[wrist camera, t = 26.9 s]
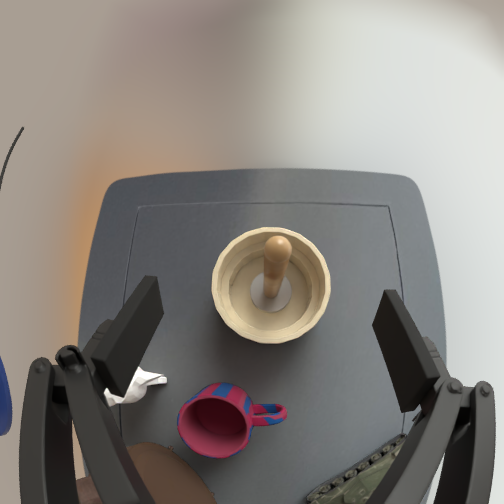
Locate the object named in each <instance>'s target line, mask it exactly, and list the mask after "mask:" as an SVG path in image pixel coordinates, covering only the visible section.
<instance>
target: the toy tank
mask: <svg viewBox="0 0 504 504" xmlns="http://www.w3.org/2000/svg"><path fill="white" fill-rule="evenodd" d="M406 438H407V435H406V434H404V433H401V434H400V435H398V436H396V437H395V438H393V439H392V440H390V441H388V442H387V443H385V444H384V445H382V446H381V447H380V448H378V449H377V450H376V451H374V452H373V453H371V454H370V455H368V456H367V457H366V458H364V459H363V460H361V461H360V462H358V463H356V464H355V465H353V466H352V467H350V468H349V469H347V470H345V471H344V472H342V473H340V474H339V475H337V476H335V477H333V478H332V479H330V480H328V481H326V482H324V483H323V484H321V485H319V486H318V487H317V488H316V489H315V490H314V491H313V492H312V493H311V494H309V495H308V496H307V500H308V502H309V503H308V504H365V503H366V501H367V500H368V499H369V497H370V496H371V495H372V493H373V492H374V490H375V489H376V488H377V486H378V485H379V483H380V482H381V480H382V479H383V477H384V476H385V474H386V472H387V471H388V469H389V468H390V466H391V464H392V463H393V461H394V459H395V458H396V456H397V454H398V453H399V451H400V449H401V447H402V445H403V444H404V442H405V440H406ZM395 445H396V446H395ZM393 446H395V447H393ZM383 453H384V454H385V455H384V456H383V457H382V458H381V456H382V454H383ZM370 462H373V464H372V465H370V464H369V463H370ZM369 465H370V466H369ZM358 470H359V471H361V472H359V474H357V471H358ZM356 474H357V475H356ZM345 478H349V479H348V480H347V481H346V482H344V479H345ZM337 484H338V485H337ZM331 486H336V487H334V489H332V490H331V491H329V490H330V489H331ZM328 489H329V490H328ZM328 491H329V492H328ZM321 493H322V494H321Z"/></svg>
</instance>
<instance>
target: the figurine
mask: <svg viewBox="0 0 504 504" xmlns="http://www.w3.org/2000/svg"><path fill="white" fill-rule="evenodd" d="M161 376H163V375H161V374H155V373H150V372H145V371H143V370H142V369H141V368H140V367H139V366H138V368H137V370H136V372H135V375H134V377H133V379H132V381H131V383H130V386H129V388H128V390H127V392H126V395H125V397H124V398H122V397H119V396H115V395H112V394H110V392H109V390H108V389H107V388H106V390H105V392H104V394H105V396H106V398H107V401H108V404H109V407H110V406H113V405H115V404H116V403H134V402H136V401H138V400H140V399H141V398H142V397H143V396H144V395H145V393H146V388H147V386H148V385H152V384H158V383H167V377H161Z"/></svg>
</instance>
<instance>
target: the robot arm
mask: <svg viewBox="0 0 504 504" xmlns="http://www.w3.org/2000/svg"><path fill="white" fill-rule="evenodd" d="M23 130H24V127H22V128H21V130H20V132H19V133H18V135H17V137H16V138H15V140H14V142H13V144H12V146H11V148H10V150H9V152H8V155H7V157H6V160H5V163H4V166H3V169H2V172H1V176H0V189H1V184H2V179H3V175H4V172H5V168H6V165H7V162H8V159H9V157H10V154H11V152H12V150H13V148H14V146H15V144H16V142H17V140H18V138H19V136H20V135H21V133H22V131H23ZM163 314H164V311H163V306H162V301H161V296H160V291H159V285H158V280H157V276H146V275H145V277H144V278H143V279H142V281H141V282H140V283H139V285H138V286H137V288H136V289H135V290H134V292H133V293H132V295H131V296H130V297H129V299H128V300H127V302H126V303H125V305H124V306H123V308H122V309H121V311H120V312H119V313H118V315H117V316H116V318H115V319H114V320H109V319H107V320H106V321H105V322H103V323H102V324H101V325H100V326H99V327H98V329H97V330H96V333H94V334H93V336H92V338H91V339H90V340H89V342H88V343H87V345H86V346H85V348H84V349H83V351H82V352H80V350H79V348H77V347H76V346H73V345H67V346H64V347H62V348H61V349H60V350H59V351H58V352H57V354H56V357H55V360H56V361H57V363H58V365H52V364H51V363H50V361H49V360H48V359H46V358H43V357H41V358H37V359H36V360H34V361H33V362H32V364H31V366H30V369H29V374H28V379H27V384H26V390H25V396H24V402H23V410H22V418H21V419H22V420H21V429H20V446H19V481H20V496H21V504H79V498H78V492H77V485H76V478H75V470H74V458H73V440H72V420H73V424H74V427H75V431H76V434H77V438H78V441H79V444H80V448H81V451H82V454H83V457H84V460H85V462H86V465H87V468H88V471H89V473H90V476H91V478H92V481H93V483H94V486H95V488H96V490H97V492H98V495H99V497H100V499H101V501H102V503H103V504H156V502H155V501H154V499H153V498H152V496H151V494H150V492H149V491H148V489H147V487H146V486H145V484H144V482H143V480H142V478H141V476H140V475H139V473H138V471H137V469H136V467H135V465H134V463H133V461H132V459H131V457H130V455H129V453H128V450H127V448H126V446H125V444H124V442H123V439H122V437H121V435H120V432H119V430H118V427H117V425H116V423H115V420H114V417H113V415H112V412H111V410H110V407H109V404H108V401H107V398H106V396H105V394H104V392H105V390H106V388H107V389H108V390H109V392H110V394H112V395H115V396H119V397H122V398H124V397H125V395H126V392H127V390H128V388H129V386H130V383H131V381H132V379H133V377H134V375H135V372H136V370H137V368H138V366H139V364H140V362H141V360H142V357H143V355H144V353H145V351H146V349H147V347H148V345H149V343H150V341H151V339H152V337H153V335H154V333H155V331H156V328H157V326H158V324H159V322H160V320H161V318H162V316H163ZM372 327H373V329H374V332H375V335H376V337H377V340H378V343H379V345H380V348H381V351H382V354H383V357H384V360H385V362H386V365H387V368H388V371H389V374H390V377H391V380H392V383H393V387H394V390H395V393H396V396H397V400H398V403H399V406H400V410H401V413H404V412H409V411H414V410H415V409H416V408H417V406H418V405H419V404H420V406H421V411H420V412H419V413H418V414H417V415H416V416H415V417H414V419H413V420H412V421H413V422H414V420H415V419H416V420H415V422H414V424H413V426H412V428H411V430H410V432H409V434H408V436H407V438H406V440H405V442H404V444H403V445H402V447H401V449H400V451H399V453H398V454H397V456H396V458H395V459H394V461H393V463H392V464H391V466H390V468H389V469H388V471H387V472H386V474H385V476H384V477H383V479H382V480H381V482H380V483H379V485H378V486H377V488H376V489H375V490H374V492H373V493H372V495H371V496H370V497H369V499H368V500H367V501H366V503H365V504H420V502H421V500H422V499H423V497H424V495H425V493H426V491H427V489H428V487H429V485H430V483H431V481H432V479H433V477H434V475H435V473H436V471H437V469H438V466H439V464H440V462H441V460H442V457H443V455H444V452H445V455H444V461H443V467H442V471H441V476H440V480H439V485H438V489H437V492H436V496H435V500H434V503H433V504H488V503H489V498H490V492H491V486H492V479H493V470H494V459H495V436H496V435H495V434H496V433H495V432H496V428H495V427H496V422H495V400H494V391H493V388H492V386H491V385H490V384H489V383H488V382H485V381H480V382H478V383H477V384H476V386H475V387H465V386H463V385H462V383H461V382H460V381H459V380H457V379H456V378H451V377H450V375H449V373H448V370H447V368H446V366H445V364H444V362H443V360H442V358H441V357H440V354H439V352H438V351H437V348H436V347H435V345H434V343H433V342H432V341H431V340H430V339H429V338H428V337H421V335H420V333H419V331H418V329H417V327H416V325H415V323H414V321H413V320H412V318H411V316H410V314H409V312H408V311H407V309H406V307H405V305H404V304H403V302H402V300H401V298H400V297H399V295H398V293H397V291H396V290H384V292H383V296H382V299H381V302H380V304H379V307H378V310H377V313H376V316H375V319H374V321H373V324H372Z"/></svg>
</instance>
